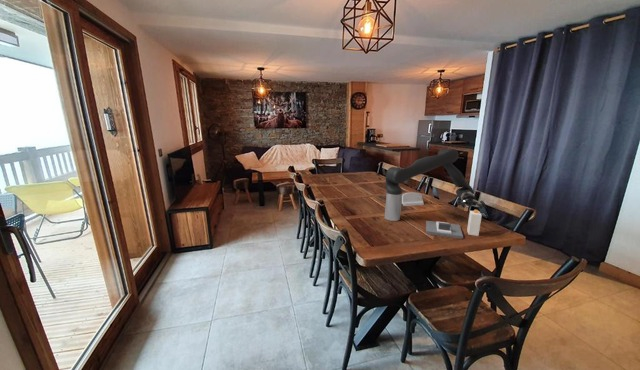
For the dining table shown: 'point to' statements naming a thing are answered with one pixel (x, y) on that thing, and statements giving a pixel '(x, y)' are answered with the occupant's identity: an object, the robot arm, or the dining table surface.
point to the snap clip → (444, 226)
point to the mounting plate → (433, 229)
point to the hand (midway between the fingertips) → (472, 206)
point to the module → (474, 222)
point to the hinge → (411, 199)
